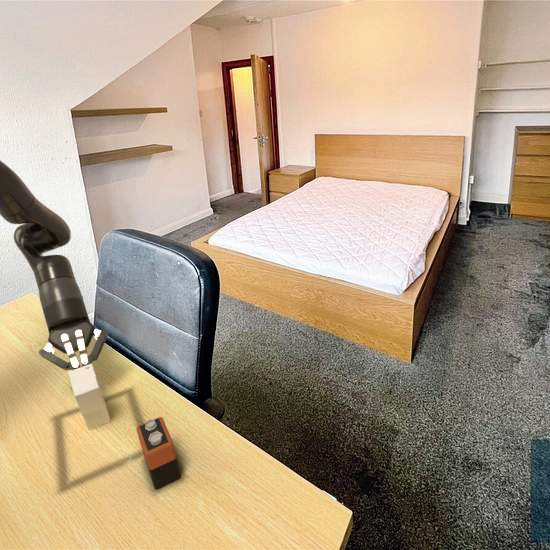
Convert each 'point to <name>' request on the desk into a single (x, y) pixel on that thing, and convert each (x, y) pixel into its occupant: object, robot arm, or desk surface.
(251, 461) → the desk surface
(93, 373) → the cosmetic box
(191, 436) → the desk surface
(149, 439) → the battery
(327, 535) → the desk surface
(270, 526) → the desk surface
